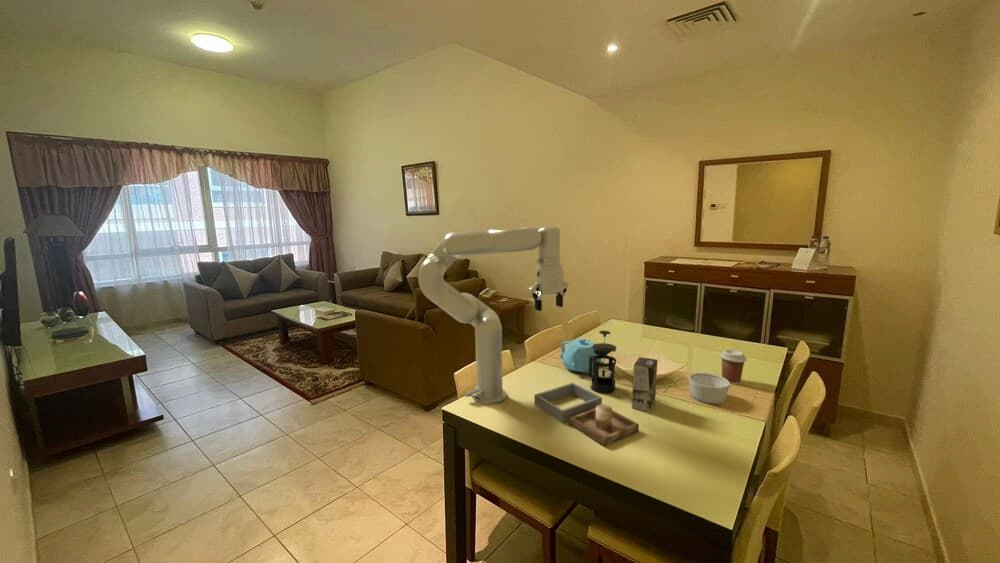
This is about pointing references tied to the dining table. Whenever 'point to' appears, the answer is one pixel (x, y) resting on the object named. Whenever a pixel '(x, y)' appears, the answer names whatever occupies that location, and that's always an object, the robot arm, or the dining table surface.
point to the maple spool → (603, 417)
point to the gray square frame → (564, 415)
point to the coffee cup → (732, 365)
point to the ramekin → (708, 387)
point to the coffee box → (644, 384)
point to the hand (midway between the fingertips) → (549, 308)
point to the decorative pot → (578, 355)
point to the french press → (603, 374)
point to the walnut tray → (604, 437)
